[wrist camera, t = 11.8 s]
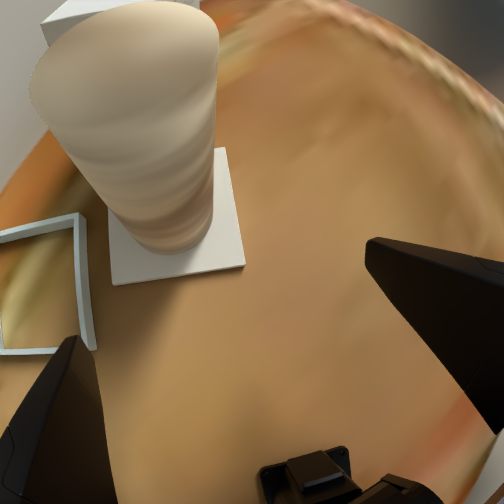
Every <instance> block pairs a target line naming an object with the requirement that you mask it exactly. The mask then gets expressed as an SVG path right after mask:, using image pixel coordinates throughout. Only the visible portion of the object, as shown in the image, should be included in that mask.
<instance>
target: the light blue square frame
mask: <svg viewBox="0 0 504 504" xmlns="http://www.w3.org/2000/svg"><path fill="white" fill-rule="evenodd" d="M71 227H74V263H75V281H76V294H77V305H78V314H79V322H80V330H81V337H82V340H83V341H84V343H85V344H86V346H87V348H88V349H89V351H93V350H97V345H96V338H95V331H94V324H93V316H92V308H91V298H90V288H89V275H88V259H87V222H86V218H85V217H84V216H82V215H81V214H80V213H79V212H77V213H72V214H68V215H63V216H59V217H54V218H50V219H46V220H42V221H38V222H33V223H29V224H26V225H22V226H18V227H14V228H10V229H6V230H3V231H0V244H1V243H5V242H9V241H13V240H17V239H21V238H25V237H30V236H34V235H39V234H43V233H47V232H52V231H57V230H61V229H66V228H71ZM58 348H59V347H49V348H29V349H4V345H3V337H2V328H1V317H0V355H25V354H52V353H55V352H56V350H57V349H58Z"/></svg>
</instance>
